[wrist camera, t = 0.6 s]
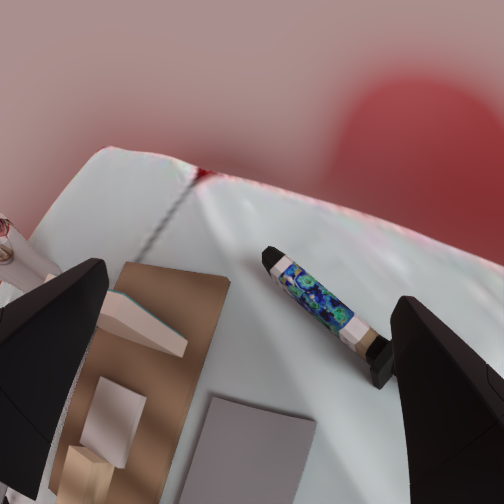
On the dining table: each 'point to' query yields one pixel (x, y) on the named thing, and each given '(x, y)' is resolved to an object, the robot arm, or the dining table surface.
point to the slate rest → (247, 456)
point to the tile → (136, 324)
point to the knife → (332, 314)
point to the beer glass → (21, 260)
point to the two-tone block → (101, 444)
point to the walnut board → (148, 376)
